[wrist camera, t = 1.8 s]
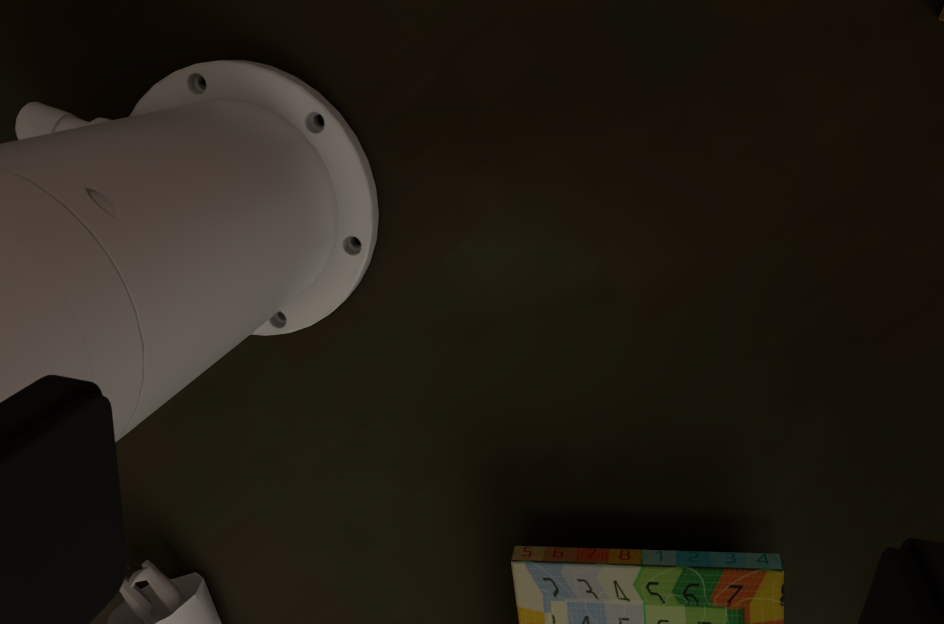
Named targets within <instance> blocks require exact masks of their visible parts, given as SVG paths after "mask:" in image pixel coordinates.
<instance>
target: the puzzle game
mask: <svg viewBox="0 0 944 624" xmlns="http://www.w3.org/2000/svg"><path fill="white" fill-rule="evenodd" d="M511 566H512V574H513V581H514V589H515V597H516V604H517V612H518V619H519V624H784V567H783V562H782V558H781V554H769V553H735V552H702V551H669V550H635V549H602V548H569V547H535V546H514V549H513V553H512V557H511Z"/></svg>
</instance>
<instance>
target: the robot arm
mask: <svg viewBox="0 0 944 624" xmlns="http://www.w3.org/2000/svg"><path fill="white" fill-rule="evenodd" d="M203 79H205V81H206V86H205V85H204V83H203ZM319 115H321V116H322V117H323V119H324V126H322V125H321V124H320V123H319V122H318V116H319ZM15 130H16V134H17V138H18V139H19V140H17V141H12V142H7V143H2V144H0V624H90V623H91V621H92V620H93V619H94V618H95V617H96V616H97V615H98V614H99V613H100V612H101V611H102V610H103V608H104V607H105V606H106V605H107V604H108V603H109V602H110V601H111V600H112V599H113V598H114V596H115V595H116V594H117V593H118V591H119V590H120V588H121V586H122V584H123V582H124V579H125V577H126V572H127V557H126V546H125V536H124V526H123V516H122V506H121V496H120V486H119V476H118V466H117V455H116V445H115V442H117V441H118V440H119V439H120V438H122V437H123V436H124V435H125V434H127V433H128V432H129V431H130V430H132V429H133V428H134V427H135V426H137V425H138V424H139V423H140V422H142V421H143V420H144V419H145V418H147V417H148V416H149V415H150V414H152V413H153V412H154V411H155V410H157V409H158V408H159V407H160V406H162V405H163V404H164V403H165V402H167V401H168V400H169V399H170V398H172V397H173V396H174V395H175V394H177V393H178V392H179V391H180V390H182V389H183V388H184V387H185V386H187V385H188V384H189V383H190V382H192V381H193V380H194V379H195V378H196V377H198V376H199V375H200V374H201V373H203V372H204V371H205V370H206V369H208V368H209V367H210V366H211V365H213V364H214V363H215V362H216V361H218V360H219V359H220V358H221V357H223V356H224V355H225V354H226V353H228V352H229V351H230V350H231V349H233V348H234V347H235V346H236V345H238V344H239V343H240V342H241V341H243V340H244V339H245V338H246V337H248V336H249V335H250V334H253V335H266V336H268V335H276V334H284V333H291V332H294V331H297V330H299V329H302V328H305V327H308V326H311V325H313V324H314V323H316V322H318V321H319V320H321V319H323V318H324V317H326V316H328V315H329V314H330V313H332V312H333V311H334V310H335V309H336V308H337V307H338V306H339V305H341V304H342V303H343V302H344V301H345V300H346V299H347V297H348V296H349V295H350V294H351V293H352V292H353V290H354V289H355V288H356V287H357V286H358V284H359V283H360V281H361V279H362V277H363V275H364V273H365V272H366V270H367V268H368V266H369V264H370V261H371V258H372V254H373V251H374V247H375V244H376V240H377V230H378V218H379V211H378V201H377V192H376V186H375V182H374V179H373V175H372V172H371V168H370V165H369V161H368V159H367V157H366V155H365V153H364V151H363V149H362V147H361V145H360V143H359V141H358V139H357V136H356V135H355V133H354V132H353V131H352V129H351V128H350V126H349V125H348V124H347V122H346V121H345V119H344V118H343V117H342V115H341V114H340V113H339V111H338V110H337V109H335V108H334V107H333V106H332V105H331V104H330V103H329V102H328V101H327V100H326V99H325V98H324V97H323V96H322V95H321V94H320V93H319V92H318V91H316V90H315V89H313V88H312V87H310V86H309V85H307V84H306V83H305V82H303V81H302V80H300V79H299V78H297V77H296V76H293V75H291V74H289V73H287V72H284V71H282V70H280V69H277V68H275V67H273V66H270V65H266V64H261V63H256V62H252V61H247V60H217V61H211V62H204V63H197V64H194V65H191V66H189V67H186V68H183V69H180V70H177V71H175V72H173V73H171V74H170V75H168V76H167V77H165V78H164V79H162V80H161V81H159V82H158V83H156V84H155V85H154V86H153V87H152V88H151V89H150V90H149V91H148V92H147V93H146V94H145V95H144V96H143V97H142V98H141V99H140V100H139V101H138V103H137V104H136V106H135V108H134V109H133V111H132V113H131V114H130V116H129V117H126V118H121V119H116V120H109V119H106V118H99V117H98V118H96V119H94V120H93V121H91V122H87V121H84V120H81V119H78V118H77V117H76V116H74V115H73V114H71V113H68V112H65V111H62V110H59V109H56V108H53V107H50V106H47V105H44V104H41V103H38V102H31V103H28V104H26V105H25V106H24V107H23V108H22V109H21V110H20V112H19V114H18V116H17V118H16V126H15ZM354 237H356V238H357V239H359V241H360V243H361V245H358V244H356V243H355V241H354ZM282 313H283V314H284V315H285V316H284V315H283V314H282ZM858 624H944V544H942V543H937V542H931V541H926V540H921V539H916V538H909V539H906V541H905V542H904V543H903V544H902V546H901V548H900V549H896V548H891V547H889V548H886V549H885V551H884V552H883V553H882V556H881V558H880V560H879V563H878V566H877V569H876V572H875V575H874V578H873V581H872V584H871V587H870V590H869V593H868V596H867V599H866V602H865V605H864V608H863V611H862V614H861V617H860V620H859V623H858Z"/></svg>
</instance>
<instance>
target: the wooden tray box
mask: <svg viewBox="0 0 944 624" xmlns="http://www.w3.org/2000/svg"><path fill="white" fill-rule="evenodd" d="M938 19H939V20H940V21H943V22H944V7H943V9H942V11H941V13H940V15H939V18H938Z"/></svg>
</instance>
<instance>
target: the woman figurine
mask: <svg viewBox="0 0 944 624" xmlns="http://www.w3.org/2000/svg"><path fill="white" fill-rule="evenodd" d="M142 567H143V568H142V569H140V570H138V571H136V572H134V573H133V574H132V576H131V577H130V579H128V578H127V577H125V579H124V582H123V584H122V586H121V588H120V590H119V591H120V592H121V594H122V595H123V597H124V598H125V601H124V602H123V603H122V604H121V605H120V606H118V607H117V608H116V609H115V610H114V611H113V612H112V613H111V614H110V616H109V619H108V622H107V624H222V623H221V621H220V618H219V616H218V613H217V611H216V608H215V606H214V603H213V601H212V598H211V596H210V593H209V591H208V588H207V586H206V583H205V581H204V578H203V577H201V576H200V575H198V574H197V573H196V572H195V573H191V574H188V575H185V576H181V577H178V578H174V579H171V580H170V579H168V578H167V577H166V576H165V575H164V574H163V573H162V572H161V571H159V570H158V569H157V567H156V566H155V565H154V564H153V563H151V562H150V561H149V560H146V561H144V562H143V563H142ZM128 568H129V567H128ZM145 580H147V581H148V583H149V585H147V586H146V587H144V588H142V589H140V588H139V587H137V586H136V585H135V583H136V582H139V581H145Z"/></svg>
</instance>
